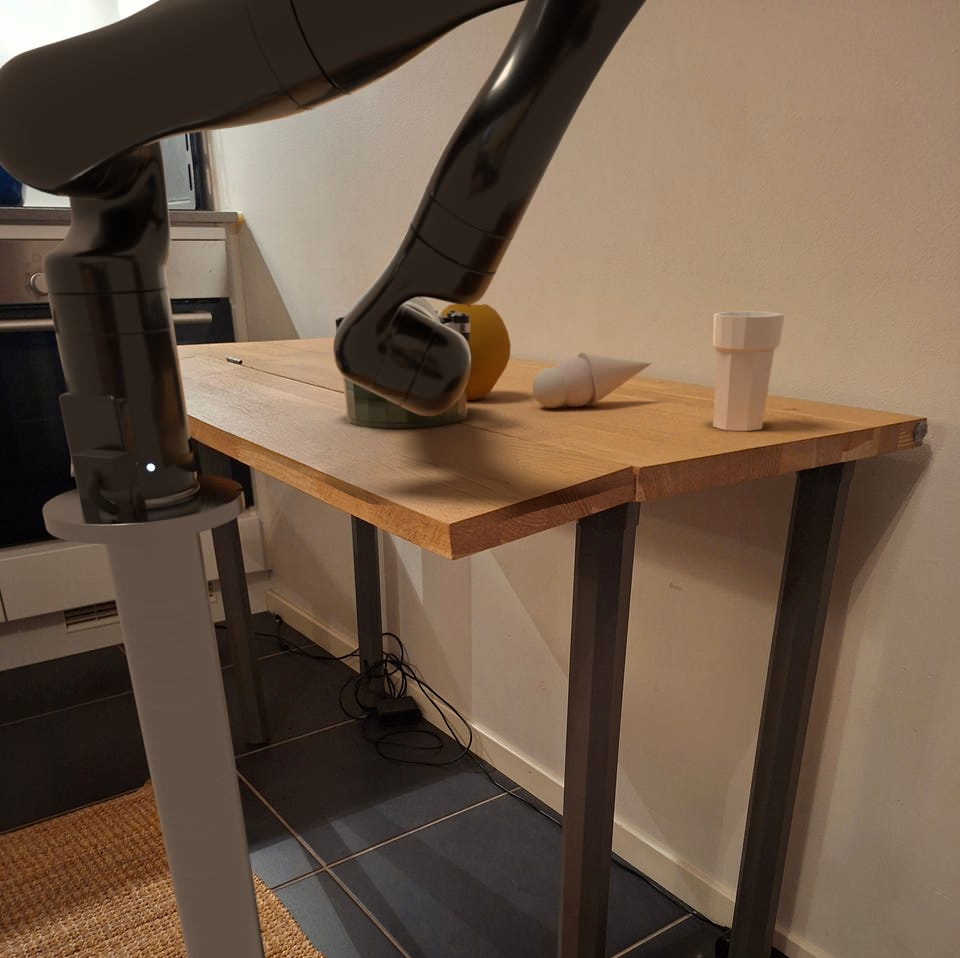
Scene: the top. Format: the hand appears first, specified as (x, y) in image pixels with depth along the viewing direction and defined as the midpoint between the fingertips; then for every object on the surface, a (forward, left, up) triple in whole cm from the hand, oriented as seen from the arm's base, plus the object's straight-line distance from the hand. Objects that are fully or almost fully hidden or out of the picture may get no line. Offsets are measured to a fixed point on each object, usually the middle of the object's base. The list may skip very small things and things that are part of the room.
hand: (403, 321), depth 101 cm
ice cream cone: (+11, -19, -10) cm, 24 cm away
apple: (+12, -3, -10) cm, 16 cm away
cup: (+3, -37, -10) cm, 39 cm away
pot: (-2, -1, -10) cm, 10 cm away
